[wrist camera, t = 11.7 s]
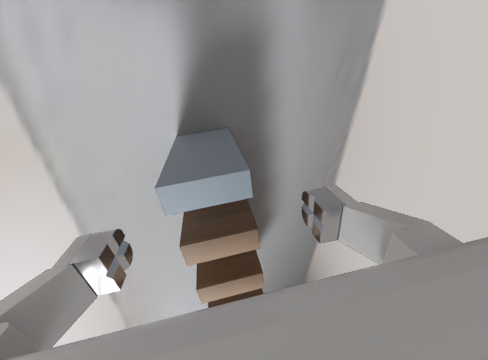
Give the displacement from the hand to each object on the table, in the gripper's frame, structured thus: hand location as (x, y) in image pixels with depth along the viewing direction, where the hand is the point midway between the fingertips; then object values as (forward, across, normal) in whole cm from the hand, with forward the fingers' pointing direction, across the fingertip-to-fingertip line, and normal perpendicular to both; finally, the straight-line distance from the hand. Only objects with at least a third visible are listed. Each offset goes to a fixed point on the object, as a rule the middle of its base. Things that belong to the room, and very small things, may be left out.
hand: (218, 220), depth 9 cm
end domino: (+12, 0, 0) cm, 12 cm away
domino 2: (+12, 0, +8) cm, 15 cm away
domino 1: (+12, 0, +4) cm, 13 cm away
